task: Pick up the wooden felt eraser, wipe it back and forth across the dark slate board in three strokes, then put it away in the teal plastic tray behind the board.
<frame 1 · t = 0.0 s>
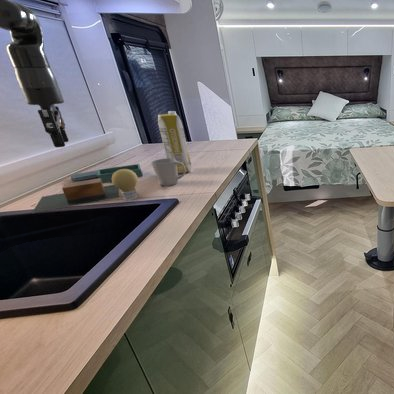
hand: (62, 144, 86), 18 cm above the worktop, tool pointing down, fingers open, 8 cm apart
light bulb: (131, 200, 92), on the worktop
cup: (173, 183, 107), on the worktop
tray: (122, 177, 113), on the worktop
eraser: (87, 197, 93), point 1 cm above the worktop, touching slate board
slate board: (81, 198, 94), on the worktop
juice carton: (181, 171, 121), on the worktop
smartphone: (97, 176, 116), on the worktop
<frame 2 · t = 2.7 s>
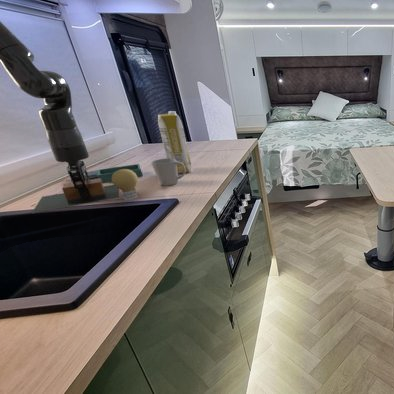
hand: (87, 196, 92), 1 cm above the worktop, tool pointing down, fingers closed on eraser, 5 cm apart
eraser: (87, 197, 93), point 1 cm above the worktop, touching gripper, slate board
everything else where it was.
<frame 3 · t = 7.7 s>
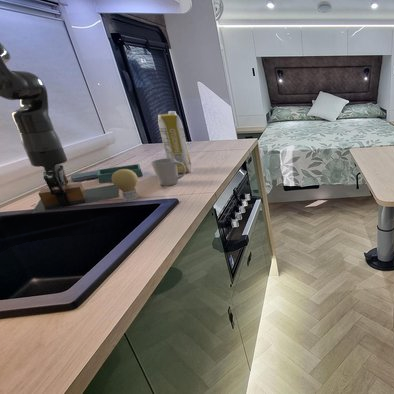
hand: (66, 202, 88), 1 cm above the worktop, tool pointing down, fingers closed on eraser, 5 cm apart
eraser: (67, 202, 89), point 1 cm above the worktop, touching gripper
everything else where it was.
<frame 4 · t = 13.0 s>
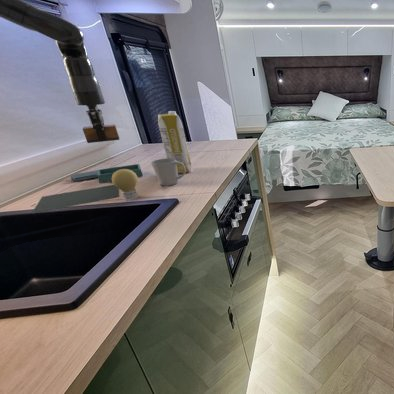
hand: (103, 139, 105), 15 cm above the worktop, tool pointing down, fingers closed on eraser, 5 cm apart
eraser: (104, 140, 105), point 15 cm above the worktop, touching gripper
everything else where it was.
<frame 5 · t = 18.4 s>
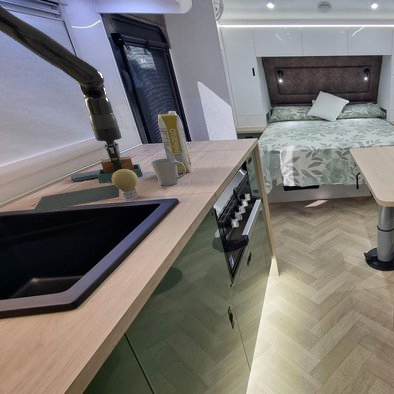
hand: (119, 171, 112), 3 cm above the worktop, tool pointing down, fingers closed on eraser, 5 cm apart
eraser: (120, 171, 112), point 3 cm above the worktop, touching gripper
everything else where it was.
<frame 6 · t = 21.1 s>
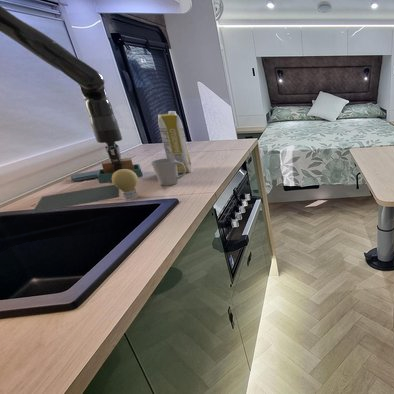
hand: (120, 172, 112), 2 cm above the worktop, tool pointing down, fingers closed on eraser, 5 cm apart
eraser: (120, 173, 112), point 2 cm above the worktop, touching gripper
everything else where it was.
when the fingers open (3 cm above the worktop, at t = 23.3 s): eraser drops 2 cm, resting on tray.
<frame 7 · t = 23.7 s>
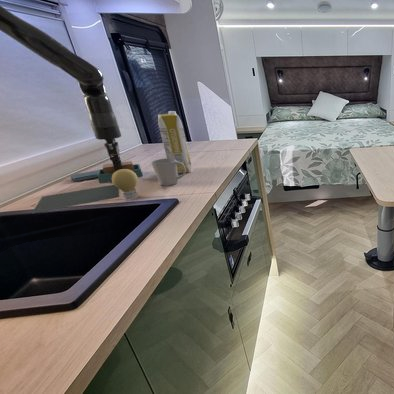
hand: (118, 167, 111), 4 cm above the worktop, tool pointing down, fingers open, 8 cm apart
eraser: (121, 176, 113), resting on tray
everything else where it was.
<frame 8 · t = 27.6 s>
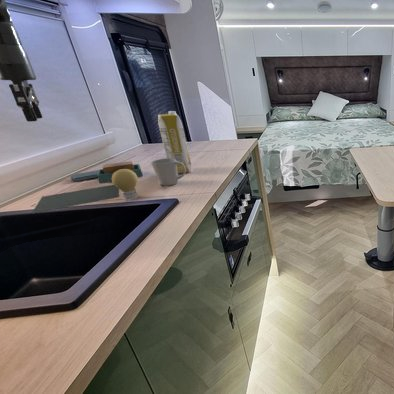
hand: (35, 119, 90), 24 cm above the worktop, tool pointing down, fingers open, 8 cm apart
nothing on the worktop moved.
at the end: eraser inside the target area in the tray (0.0 cm from its centre), point 0.5 cm above the tray's base; eraser tilted 0° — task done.
